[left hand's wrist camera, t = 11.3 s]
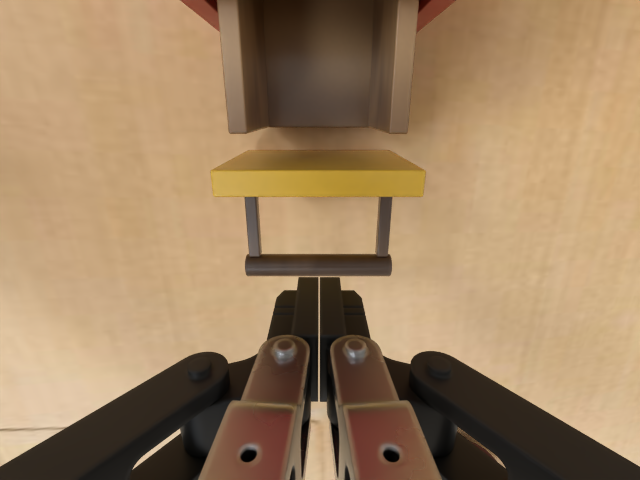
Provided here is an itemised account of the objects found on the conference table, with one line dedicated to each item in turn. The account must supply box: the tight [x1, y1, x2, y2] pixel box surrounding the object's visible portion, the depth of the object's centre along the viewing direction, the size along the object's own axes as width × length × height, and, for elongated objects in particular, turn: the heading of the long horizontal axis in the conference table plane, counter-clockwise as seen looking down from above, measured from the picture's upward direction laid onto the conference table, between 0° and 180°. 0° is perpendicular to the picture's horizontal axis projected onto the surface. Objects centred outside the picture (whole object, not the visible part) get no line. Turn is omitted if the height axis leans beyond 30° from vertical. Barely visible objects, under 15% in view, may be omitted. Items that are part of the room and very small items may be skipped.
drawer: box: [211, 0, 426, 276], centre depth 17 cm, size 22×9×8 cm, turn 0°
